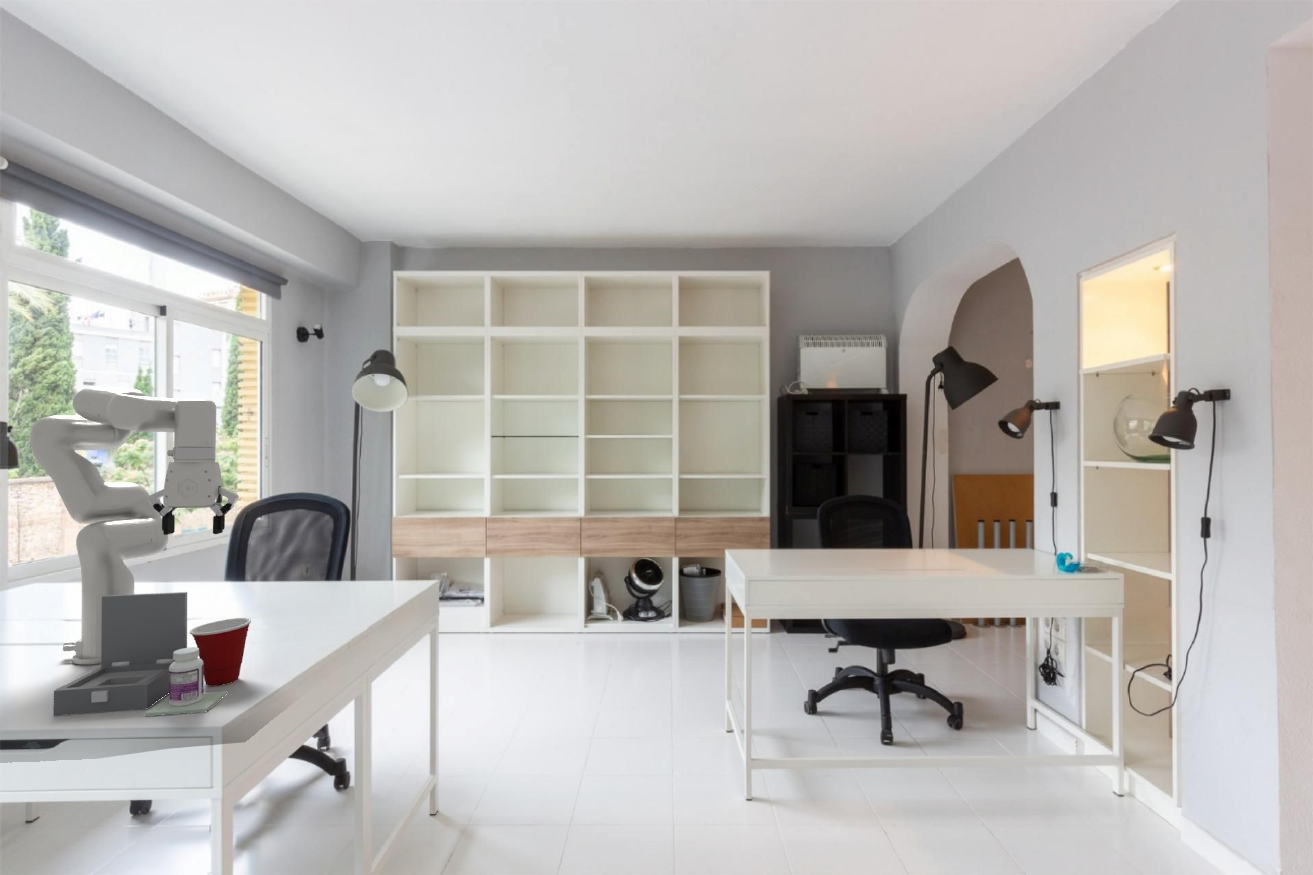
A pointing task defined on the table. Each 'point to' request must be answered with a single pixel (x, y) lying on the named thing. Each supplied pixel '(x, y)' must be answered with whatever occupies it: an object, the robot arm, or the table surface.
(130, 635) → the equipment case
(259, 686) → the table surface
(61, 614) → the table surface
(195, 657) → the pill bottle
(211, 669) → the plastic cup
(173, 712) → the sage mat
